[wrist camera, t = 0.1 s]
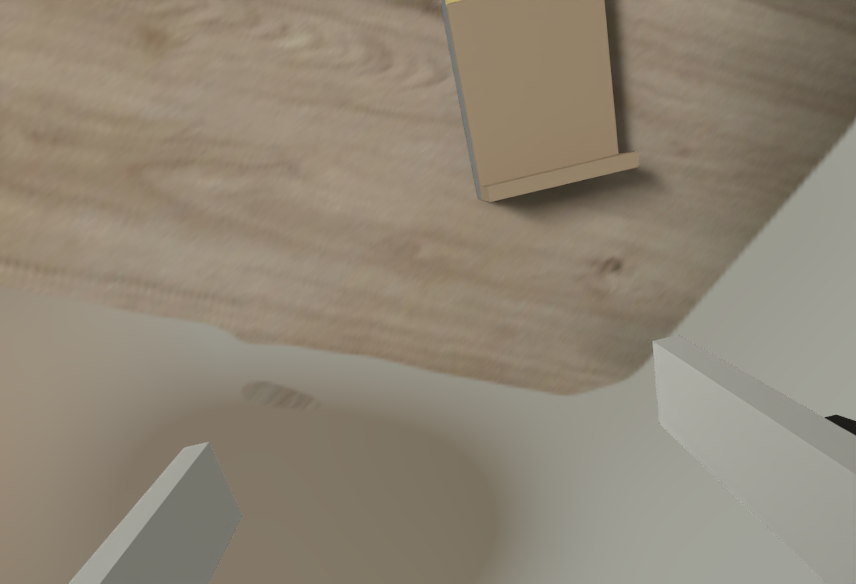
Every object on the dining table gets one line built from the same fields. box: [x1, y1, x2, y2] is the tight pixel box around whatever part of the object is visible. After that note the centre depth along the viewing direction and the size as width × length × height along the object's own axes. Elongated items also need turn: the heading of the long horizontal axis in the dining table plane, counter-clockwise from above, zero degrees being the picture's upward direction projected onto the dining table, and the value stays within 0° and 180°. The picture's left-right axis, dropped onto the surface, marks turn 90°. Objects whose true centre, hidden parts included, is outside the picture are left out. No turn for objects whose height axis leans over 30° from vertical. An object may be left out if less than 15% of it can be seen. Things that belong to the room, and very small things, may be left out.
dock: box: [441, 0, 639, 202], centre depth 32 cm, size 16×12×6 cm
